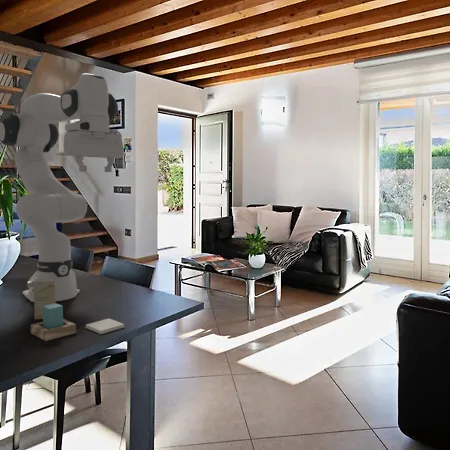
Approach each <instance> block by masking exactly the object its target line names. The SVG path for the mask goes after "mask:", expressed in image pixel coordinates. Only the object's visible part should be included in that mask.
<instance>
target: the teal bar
mask: <svg viewBox="0 0 450 450" xmlns="http://www.w3.org/2000/svg"><path fill="white" fill-rule="evenodd" d="M42 307H43V319H42V322H43V327H44V328H46V329H52V328H56V327H60V326H63V319H64V308H63V307H64V306H63V305H61V304H59V303H56V302H55V303H54V304H50V305H45V306H42Z"/></svg>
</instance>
